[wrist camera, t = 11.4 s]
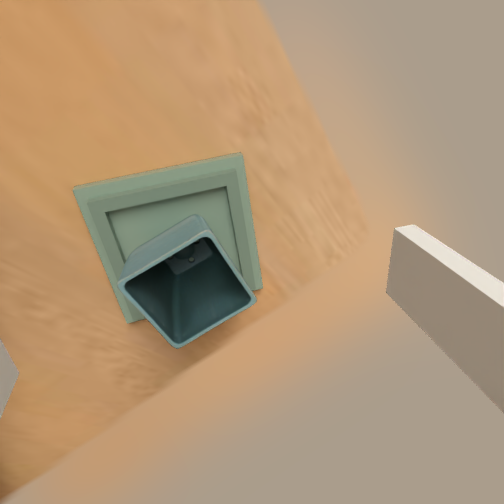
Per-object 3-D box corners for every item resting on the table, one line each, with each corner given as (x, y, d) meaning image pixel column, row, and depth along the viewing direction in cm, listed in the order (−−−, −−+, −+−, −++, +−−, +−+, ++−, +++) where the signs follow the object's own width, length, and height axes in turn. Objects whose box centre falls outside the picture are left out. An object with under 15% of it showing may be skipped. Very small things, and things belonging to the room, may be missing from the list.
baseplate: (127, 316, 42) (126, 330, 40) (74, 186, 34) (69, 194, 32) (260, 282, 44) (265, 293, 42) (240, 152, 36) (245, 158, 34)
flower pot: (197, 190, 36) (209, 228, 28) (239, 255, 40) (259, 302, 33) (121, 236, 36) (112, 285, 29) (171, 295, 41) (175, 351, 33)
